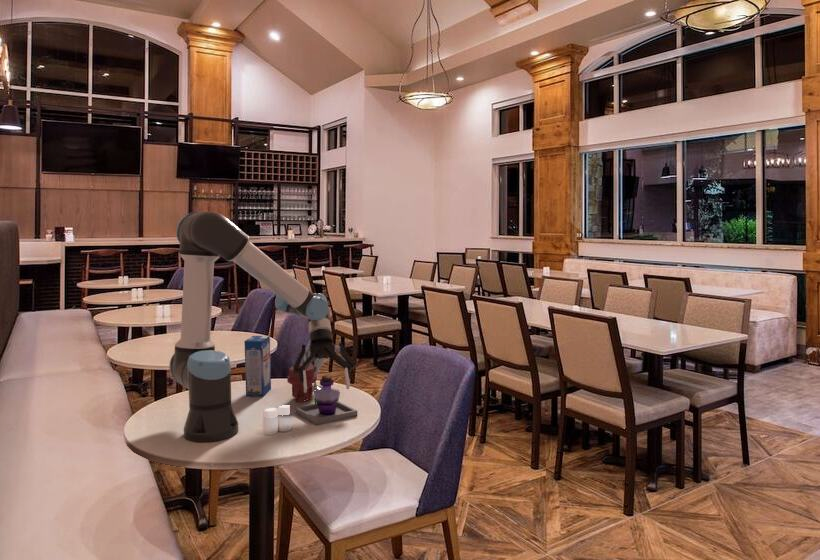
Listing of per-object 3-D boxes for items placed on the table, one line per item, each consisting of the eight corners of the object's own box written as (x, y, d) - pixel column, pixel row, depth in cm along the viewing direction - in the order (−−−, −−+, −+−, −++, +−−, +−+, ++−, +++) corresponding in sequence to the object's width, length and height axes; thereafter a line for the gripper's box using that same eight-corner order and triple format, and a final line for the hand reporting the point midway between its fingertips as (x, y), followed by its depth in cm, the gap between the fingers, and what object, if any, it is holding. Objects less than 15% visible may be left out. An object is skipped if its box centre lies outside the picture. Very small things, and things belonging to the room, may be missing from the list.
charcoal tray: (316, 425, 180) (316, 419, 179) (295, 412, 191) (295, 407, 191) (357, 416, 188) (357, 410, 188) (334, 404, 200) (334, 399, 200)
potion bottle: (308, 412, 190) (307, 375, 189) (331, 406, 196) (331, 371, 195) (322, 419, 184) (321, 381, 183) (345, 413, 189) (345, 376, 188)
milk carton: (254, 388, 219) (253, 335, 217) (271, 389, 219) (269, 335, 217) (246, 396, 209) (244, 341, 207) (263, 397, 209) (261, 341, 207)
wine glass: (311, 384, 225) (310, 345, 223) (329, 386, 222) (329, 347, 220) (300, 390, 217) (299, 350, 216) (319, 392, 214) (318, 351, 213)
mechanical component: (319, 395, 210) (314, 404, 200) (291, 395, 211) (284, 404, 201) (318, 361, 209) (313, 368, 199) (290, 361, 209) (284, 368, 199)
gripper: (355, 338, 208) (363, 391, 195) (282, 341, 201) (286, 397, 188) (358, 325, 202) (367, 380, 189) (283, 329, 195) (287, 385, 182)
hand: (327, 388), depth 188 cm, fingers open, 13 cm apart
